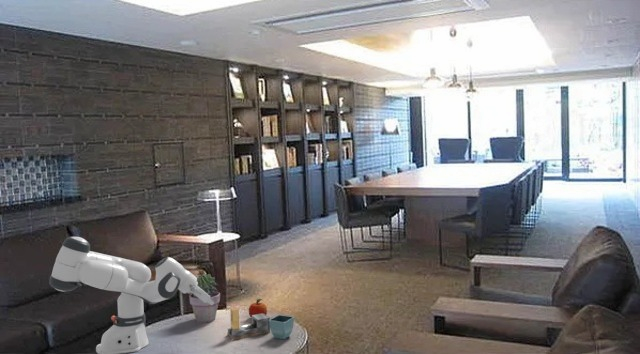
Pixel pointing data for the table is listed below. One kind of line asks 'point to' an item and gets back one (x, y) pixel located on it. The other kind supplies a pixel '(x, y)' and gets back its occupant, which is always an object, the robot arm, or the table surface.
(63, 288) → the robot arm
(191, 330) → the table surface
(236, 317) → the tall wooden block
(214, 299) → the potted plant
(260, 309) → the fruit
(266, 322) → the rail base
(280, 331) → the flower pot
